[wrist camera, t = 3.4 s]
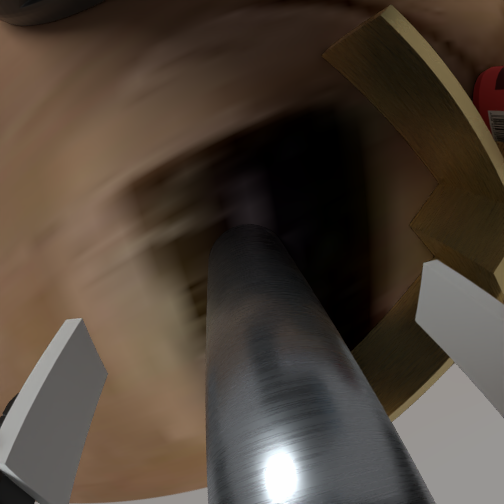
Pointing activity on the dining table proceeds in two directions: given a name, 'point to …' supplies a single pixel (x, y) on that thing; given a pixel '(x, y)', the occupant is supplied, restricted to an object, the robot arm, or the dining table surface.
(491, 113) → the canned food
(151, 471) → the dining table surface
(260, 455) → the pin
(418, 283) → the hinge
